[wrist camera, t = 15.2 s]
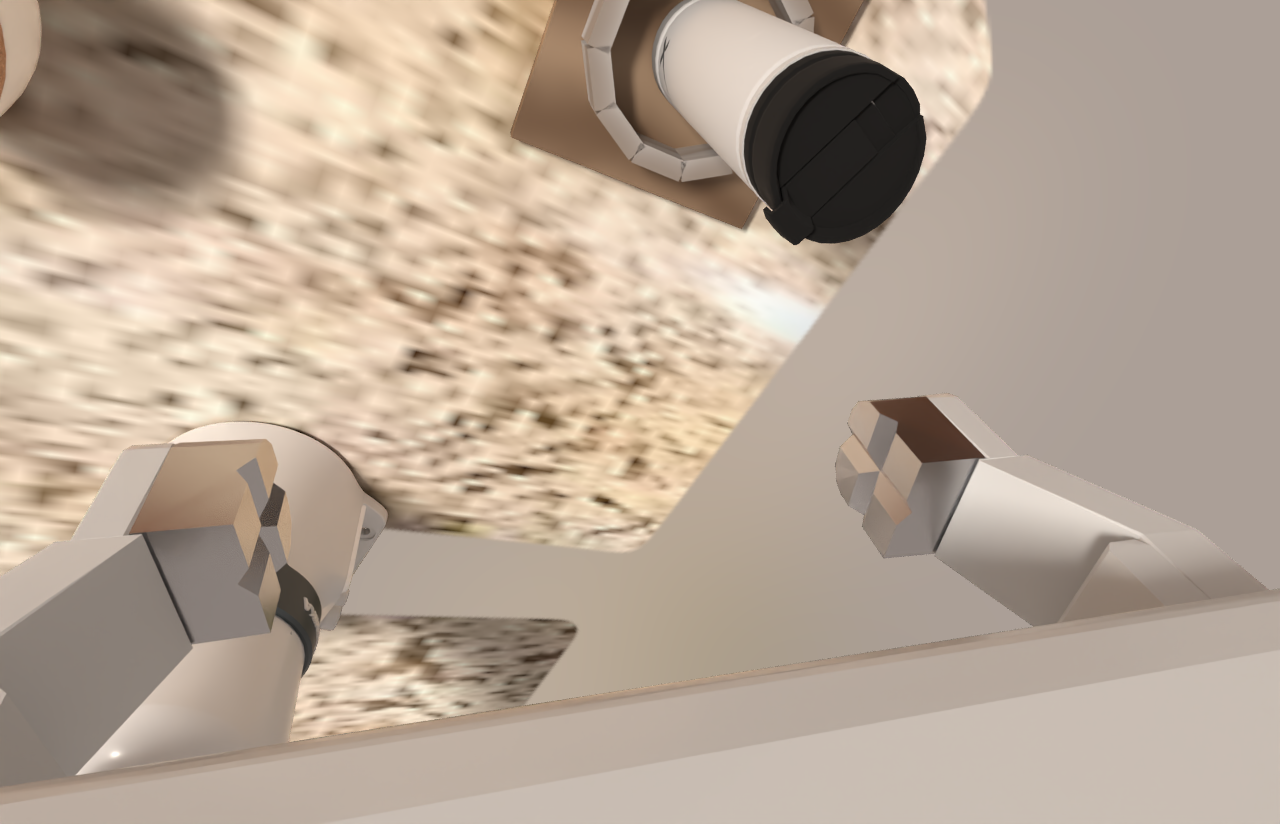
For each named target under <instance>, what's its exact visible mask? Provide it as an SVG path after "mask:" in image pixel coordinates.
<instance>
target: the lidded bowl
mask: <svg viewBox="0 0 1280 824" xmlns="http://www.w3.org/2000/svg"><path fill="white" fill-rule="evenodd" d="M41 33H42V28H41V18H40V10H39V4H38V0H0V117H1V116H2V115H3V114H4V113H5V112H6V111H7V110H8V109H9V108H10V107H11V106H12V105H13V104H14V103H15V101H16V100H17V99H18V98H19V97H20V96H21V95H22V94H23V92H24V90H25V88H26V86H27V85H28V83H29V81H30V79H31V77H32V75H33V73H34V71H35V70H36V66H37V63H38V59H39V55H40V51H41Z"/></svg>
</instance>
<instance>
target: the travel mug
mask: <svg viewBox="0 0 1280 824" xmlns="http://www.w3.org/2000/svg"><path fill="white" fill-rule="evenodd" d="M652 69H653V74H654V78H655V81H656V83H657V86H658V88H659V90H660V91H661V93H662V94H663V96H664V97H665V98H666V99H667V100H668V102H669V103H670V104H671V105H672V106H673V107H674V108H675V109H676V110H677V111H678V112H679V113H680V114H681V115H682V116H683V117H684V119H685V120H686V121H687V122H688V123H689V124H690V125H691V126H692V127H693V128H694V129H695V130H696V131H697V132H698V133H699V135H700V136H701V137H702V138H703V139H704V140H705V141H706V142H707V143H708V144H709V145H710V146H711V147H712V148H713V149H714V151H715V152H716V153H717V154H718V155H719V156H720V157H721V158H722V159H723V160H724V161H725V162H726V163H727V164H728V165H729V166H730V168H731V169H732V170H733V171H734V172H735V173H736V174H737V175H738V176H739V177H740V178H741V179H742V180H743V181H744V182H745V184H746V185H747V186H748V187H749V188H750V189H751V190H752V191H753V192H754V193H755V194H756V195H757V196H758V197H759V198H760V199H761V200H762V201H763V202H764V203H765V204H766V205H768V206H769V207H770V208H771V209H772V210H773V211H771V210H770V209H769V208H768V207H765V208H764V209H763V211H764V214H765V217H766V219H767V220H768V221H769V223H770V224H771V225H772V226H773V228H774V229H775V230H776V231H777V232H778V233H779V234H780V235H781V236H782V237H783V238H785V239H786V240H788V241H789V242H790V243H792V244H793V245H797V244H799V243H800V242H801V241H802V240H803V239H804V238H806V239H808V240H811V241H815V242H818V243H840V242H845V241H850V240H852V239H855V238H858V237H860V236H863V235H865V234H866V233H868V232H870V231H871V230H873V229H875V228H876V227H878V226H879V225H880V224H881V223H882V222H884V221H885V220H886V219H887V218H888V217H890V216H891V214H892V213H893V212H894V211H895V210H896V209H897V208H898V207H899V205H900V204H901V203H902V202H903V200H904V199H905V197H906V196H907V194H908V192H909V191H910V189H911V188H912V186H913V183H914V181H915V179H916V177H917V175H918V173H919V170H920V167H921V163H922V160H923V157H924V152H925V145H926V132H925V126H924V119H923V116H922V115H920V103H919V101H918V99H917V97H916V94H915V92H914V90H913V89H912V87H911V86H910V85H909V83H908V82H907V81H906V80H905V78H903V77H902V76H900V75H898V74H897V73H895V72H893V71H892V70H890V69H888V68H887V67H885V66H883V65H882V64H880V63H878V62H875V61H873V60H871V59H870V58H869V57H867V56H866V55H864V54H861V53H859V52H856V51H854V50H852V49H850V48H847V47H845V46H843V45H840V44H838V43H836V42H833V41H831V40H829V39H826V38H824V37H822V36H819V35H817V34H814V33H812V32H810V31H807V30H805V29H803V28H800V27H798V26H796V25H793V24H791V23H789V22H786V21H784V20H782V19H779V18H777V17H775V16H772V15H770V14H768V13H765V12H763V11H761V10H758V9H756V8H754V7H751V6H749V5H747V4H744V3H742V2H740V1H737V0H683V1H682V2H680V3H679V4H677V5H676V6H675V7H674V8H673V9H672V10H671V11H670V12H669V13H668V15H667V16H666V17H665V18H664V20H663V21H662V23H661V25H660V27H659V29H658V31H657V33H656V37H655V40H654V43H653V49H652Z"/></svg>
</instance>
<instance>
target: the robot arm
mask: <svg viewBox="0 0 1280 824" xmlns="http://www.w3.org/2000/svg"><path fill="white" fill-rule="evenodd" d="M847 424H848V426H849V428H850V430H851V432H852V435H851V436H850V437H849V438H848V439H847V440H846V441H845V443H843V444H842V445H841V446H840V448H839V452H838V456H837V460H836V463H835V467H836V481H837V484H838V487H839V490H840V493H841V495H842V497H843V498H844V499H845V501H846V503H847V504H848V506H850V507H852V508H853V509H855V510H857V511H859V512H860V513H862V514H864V519H863V524H862V527H863V528H864V530H865V531H866V533H867V534H868V536H869V537H870V539H871V540H872V542H873V543H874V545H875V546H876V548H877V549H878V551H879V552H880V554H881V555H882V557H883V558H891V557H902V556H912V555H923V554H934V553H935V557H937V558H938V559H939V560H941V561H942V562H943V563H945V564H946V565H948V566H949V567H950V568H952V569H953V570H955V571H956V572H957V573H959V574H960V575H962V576H963V577H965V578H966V579H967V580H969V581H970V582H971V583H973V584H974V585H976V586H977V587H979V588H980V589H981V590H983V591H984V592H986V593H987V594H988V595H990V596H991V597H993V598H994V599H995V600H997V601H998V602H1000V603H1001V604H1002V605H1004V606H1005V607H1007V608H1008V609H1009V610H1011V611H1012V612H1014V613H1015V614H1017V615H1018V616H1019V617H1021V618H1022V619H1024V620H1025V621H1026V622H1028V623H1029V624H1030V625H1032V626H1033V627H1028V628H1022V629H1015V630H1010V631H1002V632H997V633H989V634H983V635H977V636H971V637H964V638H957V639H951V640H945V641H939V642H931V643H925V644H918V645H913V646H906V647H900V648H893V649H886V650H880V651H873V652H867V653H861V654H854V655H848V656H841V657H835V658H828V659H822V660H815V661H809V662H802V663H797V664H790V665H783V666H777V667H771V668H764V669H757V670H751V671H745V672H738V673H731V674H725V675H719V676H713V677H706V678H699V679H694V680H687V681H680V682H674V683H667V684H661V685H655V686H648V687H642V688H635V689H628V690H622V691H616V692H609V693H603V694H596V695H590V696H583V697H577V698H571V699H565V700H558V701H551V702H545V703H538V704H532V705H525V706H519V707H512V708H506V709H500V710H493V711H487V712H480V713H474V714H467V715H461V716H455V717H448V718H442V719H435V720H429V721H422V722H416V723H409V724H403V725H397V726H390V727H384V728H377V729H371V730H364V731H358V732H352V733H345V734H339V735H332V736H326V737H319V738H313V739H306V740H300V741H294V742H289V740H290V734H291V728H292V723H293V717H294V712H295V706H296V701H297V696H298V690H299V685H300V680H301V678H302V677H303V675H304V674H305V672H306V671H307V670H308V668H309V665H310V663H311V660H312V656H313V654H314V651H315V650H316V647H317V643H318V639H319V633H320V629H323V630H328V631H331V630H334V628H335V627H336V625H337V623H338V620H339V618H340V615H341V611H342V606H344V605H345V603H346V601H347V598H348V594H349V586H350V583H351V579H352V576H353V574H354V573H355V571H356V569H357V568H358V567H359V565H360V564H361V562H362V561H363V559H364V558H365V556H366V555H367V553H368V552H369V550H370V548H371V547H372V546H373V544H374V542H375V541H376V539H377V538H378V536H379V535H380V534H381V532H382V531H383V529H384V527H385V525H386V522H387V518H388V513H387V511H386V509H385V508H384V507H383V506H382V505H381V504H380V503H378V502H377V501H376V500H374V499H373V498H372V497H370V496H369V495H367V494H366V493H365V492H364V491H363V490H362V489H361V487H360V486H359V484H358V483H357V481H356V479H355V477H354V475H353V474H352V472H351V470H350V469H349V468H348V466H347V465H346V464H345V463H344V462H343V460H342V459H341V458H340V457H339V456H337V455H336V454H335V453H334V452H333V451H332V450H330V449H329V448H327V447H326V446H325V445H323V444H321V443H320V442H318V441H316V440H314V439H313V438H311V437H309V436H306V435H304V434H302V433H299V432H297V431H294V430H291V429H288V428H284V427H280V426H276V425H271V424H265V423H258V422H224V423H217V424H211V425H206V426H203V427H199V428H196V429H193V430H191V431H188V432H186V433H184V434H182V435H180V436H178V437H176V438H175V439H173V440H172V441H170V442H169V443H166V444H150V445H134V446H131V447H129V448H127V449H125V450H123V451H122V452H121V453H120V455H119V457H118V459H117V460H116V462H115V464H114V465H113V466H112V467H111V469H110V471H109V474H108V476H107V478H106V479H105V481H104V483H103V484H102V486H101V488H100V490H99V491H98V493H97V495H96V497H95V498H94V500H93V502H92V503H91V505H90V507H89V509H88V510H87V512H86V514H85V516H84V517H83V519H82V521H81V522H80V524H79V526H78V528H77V529H76V531H75V533H74V535H73V536H72V538H71V540H70V541H60V542H54V543H52V544H51V545H49V546H48V547H46V548H44V549H43V550H41V551H40V552H38V553H37V554H35V555H33V556H32V557H30V558H29V559H27V560H26V561H24V562H22V563H21V564H19V565H18V566H16V567H14V568H13V569H11V570H10V571H8V572H7V573H5V574H3V575H2V576H0V824H1280V589H1273V590H1269V589H1267V588H1266V587H1265V586H1264V585H1263V584H1261V583H1260V582H1259V581H1258V580H1257V579H1255V578H1254V577H1253V576H1252V575H1251V574H1250V573H1248V572H1247V571H1246V570H1245V569H1244V568H1242V567H1241V566H1240V565H1239V564H1238V563H1236V562H1235V561H1234V560H1233V559H1232V558H1231V557H1230V556H1228V555H1227V554H1226V553H1225V552H1224V551H1222V550H1221V549H1220V548H1219V547H1218V546H1216V545H1215V544H1214V543H1213V542H1212V541H1211V540H1209V539H1208V538H1207V537H1206V536H1205V535H1203V534H1202V533H1201V532H1200V531H1199V530H1197V529H1195V528H1193V527H1190V526H1188V525H1186V524H1184V523H1181V522H1179V521H1177V520H1174V519H1172V518H1170V517H1168V516H1165V515H1163V514H1161V513H1159V512H1156V511H1154V510H1152V509H1149V508H1147V507H1145V506H1143V505H1140V504H1138V503H1136V502H1133V501H1131V500H1129V499H1127V498H1124V497H1122V496H1120V495H1118V494H1115V493H1113V492H1111V491H1109V490H1106V489H1104V488H1102V487H1099V486H1097V485H1095V484H1093V483H1090V482H1088V481H1085V480H1083V479H1081V478H1079V477H1077V476H1074V475H1072V474H1070V473H1068V472H1065V471H1063V470H1061V469H1058V468H1056V467H1054V466H1052V465H1049V464H1047V463H1045V462H1042V461H1040V460H1038V459H1035V458H1033V457H1031V456H1028V455H1023V456H1019V455H1018V454H1016V453H1015V452H1014V451H1013V450H1012V449H1011V448H1010V447H1009V446H1008V445H1007V444H1006V443H1005V442H1004V441H1003V440H1002V439H1001V438H1000V437H999V436H998V435H997V434H996V433H995V432H994V431H993V430H992V429H991V428H989V426H988V425H987V424H985V423H984V422H983V421H982V420H981V419H980V418H979V417H978V416H977V415H976V414H975V413H974V412H973V411H972V410H971V409H970V408H969V407H968V406H967V405H966V404H965V403H964V402H963V401H962V400H961V399H960V398H958V397H957V396H954V395H951V394H949V393H944V394H933V395H923V396H918V397H911V398H896V399H884V400H883V399H882V400H868V401H858V402H857V404H856V405H855V406H854V408H853V409H852V411H851V414H850V417H849V420H848V423H847ZM364 527H365V528H367V529H364Z"/></svg>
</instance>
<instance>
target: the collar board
mask: <svg viewBox="0 0 1280 824" xmlns="http://www.w3.org/2000/svg"><path fill="white" fill-rule="evenodd" d="M682 1H683V0H555V1H554V4H553V7H552V10H551V13H550V16H549V19H548V22H547V25H546V28H545V31H544V34H543V37H542V40H541V43H540V46H539V49H538V52H537V55H536V58H535V61H534V64H533V67H532V70H531V73H530V76H529V79H528V82H527V85H526V88H525V90H524V93H523V96H522V99H521V102H520V105H519V108H518V111H517V114H516V117H515V120H514V123H513V126H512V129H511V132H510V133H511V137H512V138H514V139H517V140H519V141H522V142H525V143H527V144H530V145H532V146H535V147H537V148H540V149H542V150H545V151H547V152H550V153H552V154H555V155H557V156H560V157H562V158H565V159H567V160H570V161H572V162H575V163H577V164H580V165H582V166H585V167H587V168H590V169H592V170H595V171H597V172H600V173H602V174H605V175H607V176H610V177H612V178H615V179H617V180H620V181H623V182H625V183H628V184H630V185H633V186H635V187H638V188H640V189H643V190H645V191H648V192H650V193H653V194H655V195H658V196H660V197H663V198H665V199H668V200H670V201H673V202H675V203H678V204H680V205H683V206H685V207H688V208H690V209H693V210H695V211H698V212H700V213H703V214H705V215H708V216H710V217H713V218H715V219H718V220H720V221H723V222H726V223H728V224H731V225H733V226H736V227H738V228H741V229H742V227H743V226H744V224H745V222H746V220H747V218H748V216H749V214H750V212H751V211H752V209H753V207H754V205H755V203H756V201H757V199H758V198H759V197H758V196H757V195H756V194H755V193H754V192H753V191H752V190H751V189H750V188H749V187H748V186H747V185H746V184H745V182H744V181H743V180H742V179H741V178H740V177H739V176H738V175H737V174H736V173H735V172H734V171H733V170H732V169H731V168H730V166H729V165H728V164H727V163H726V162H725V161H724V160H723V159H722V158H721V157H720V156H719V155H718V154H717V153H716V152H715V151H714V149H713V148H712V147H711V146H710V145H709V144H708V143H707V142H706V141H705V140H704V139H703V138H702V137H701V136H700V135H699V133H698V132H697V131H696V130H695V129H694V128H693V127H692V126H691V125H690V124H689V123H688V122H687V121H686V120H685V119H684V117H683V116H682V115H681V114H680V113H679V112H678V111H677V110H676V109H675V108H674V107H673V106H672V105H671V104H670V103H669V102H668V100H667V99H666V98H665V97H664V96H663V94H662V93H661V91H660V90H659V88H658V86H657V83H656V81H655V78H654V74H653V69H652V49H653V43H654V40H655V37H656V33H657V31H658V29H659V27H660V25H661V23H662V21H663V20H664V18H665V17H666V16H667V15H668V13H669V12H670V11H671V10H672V9H673V8H674V7H675V6H676V5H677V4H679V3H680V2H682ZM737 1H740V2H742V3H744V4H747V5H749V6H751V7H754V8H756V9H758V10H761V11H763V12H765V13H768V14H770V15H772V16H775V17H777V18H779V19H782V20H784V21H786V22H789V23H791V24H793V25H796V26H798V27H800V28H803V29H805V30H807V31H810V32H812V33H814V34H817V35H819V36H822V37H824V38H826V39H829V40H831V41H833V42H836V43H838V44H841V42H842V40H843V38H844V36H845V35H846V33H847V31H848V29H849V27H850V25H851V23H852V21H853V20H854V18H855V16H856V14H857V12H858V10H859V8H860V6H861V5H862V3H863V1H864V0H737Z"/></svg>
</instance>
